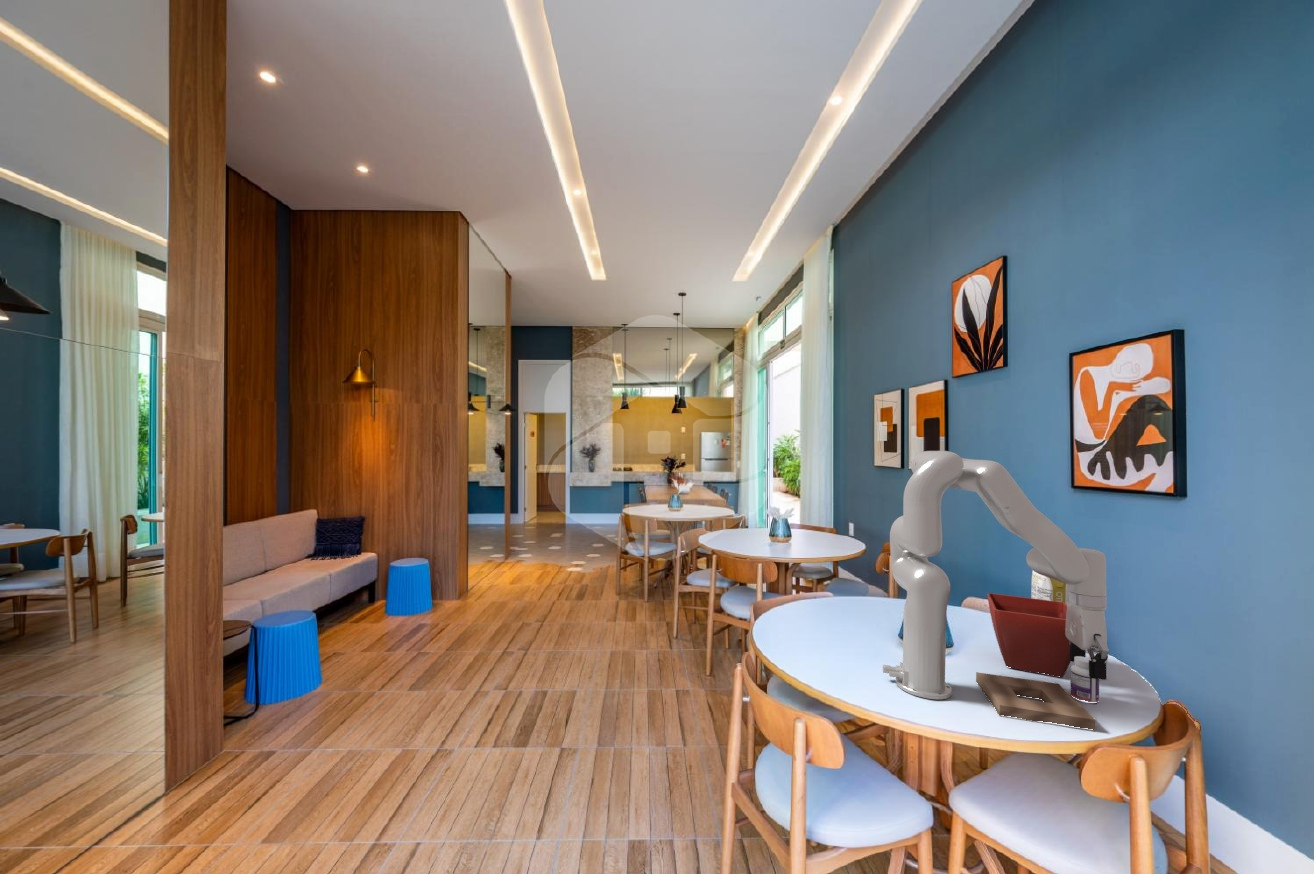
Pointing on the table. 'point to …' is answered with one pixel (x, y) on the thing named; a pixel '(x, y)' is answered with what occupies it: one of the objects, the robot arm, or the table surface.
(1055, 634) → the plant pot
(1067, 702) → the socket block
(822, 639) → the table surface
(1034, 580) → the juice carton
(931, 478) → the robot arm
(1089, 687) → the pill bottle
